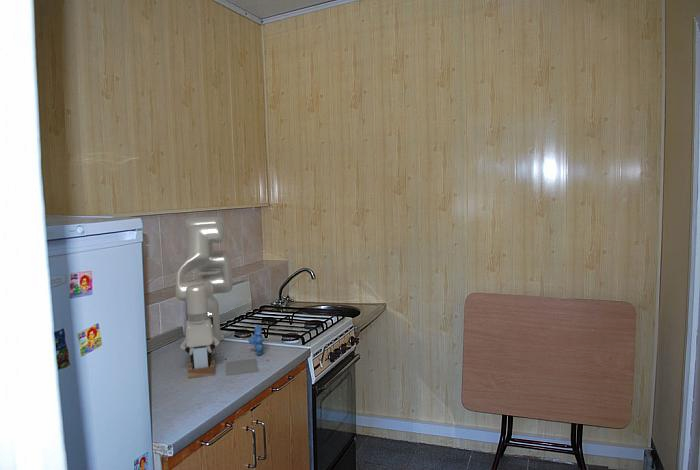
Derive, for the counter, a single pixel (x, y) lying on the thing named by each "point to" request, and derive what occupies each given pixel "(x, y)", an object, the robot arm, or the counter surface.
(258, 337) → the grapes
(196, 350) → the block
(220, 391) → the counter surface
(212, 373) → the pocket holder
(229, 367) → the mat
